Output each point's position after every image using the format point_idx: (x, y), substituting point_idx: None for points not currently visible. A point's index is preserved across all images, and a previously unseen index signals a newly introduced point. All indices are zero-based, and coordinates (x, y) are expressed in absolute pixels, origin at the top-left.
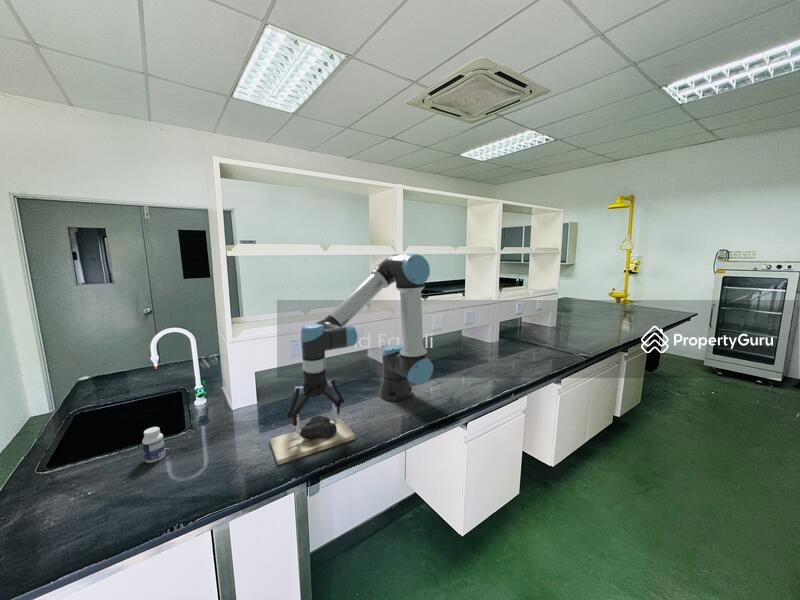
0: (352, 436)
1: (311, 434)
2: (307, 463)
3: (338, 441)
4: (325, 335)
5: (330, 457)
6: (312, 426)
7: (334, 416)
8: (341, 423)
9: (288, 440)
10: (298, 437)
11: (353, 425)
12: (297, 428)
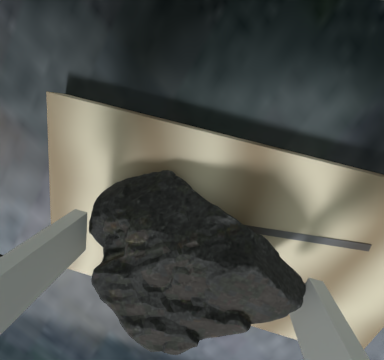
0: (63, 95)
1: (256, 233)
2: (362, 87)
3: (142, 114)
4: None
5: (243, 38)
6: (232, 280)
7: (47, 256)
8: None
9: None
10: None
11: (31, 193)
12: (354, 334)
